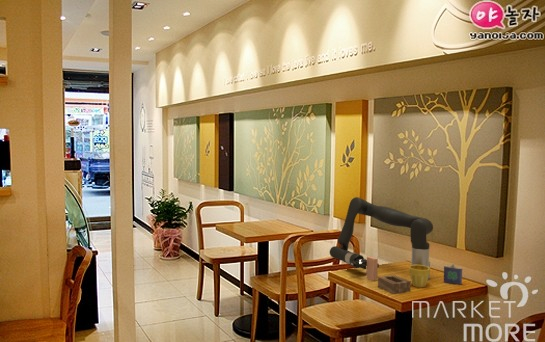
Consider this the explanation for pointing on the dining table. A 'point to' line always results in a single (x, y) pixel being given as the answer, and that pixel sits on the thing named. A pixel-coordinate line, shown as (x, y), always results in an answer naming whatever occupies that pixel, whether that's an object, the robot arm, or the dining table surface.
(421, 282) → the plant pot
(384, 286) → the walnut frame
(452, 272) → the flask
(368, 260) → the tall pink pillar
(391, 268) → the dining table surface
